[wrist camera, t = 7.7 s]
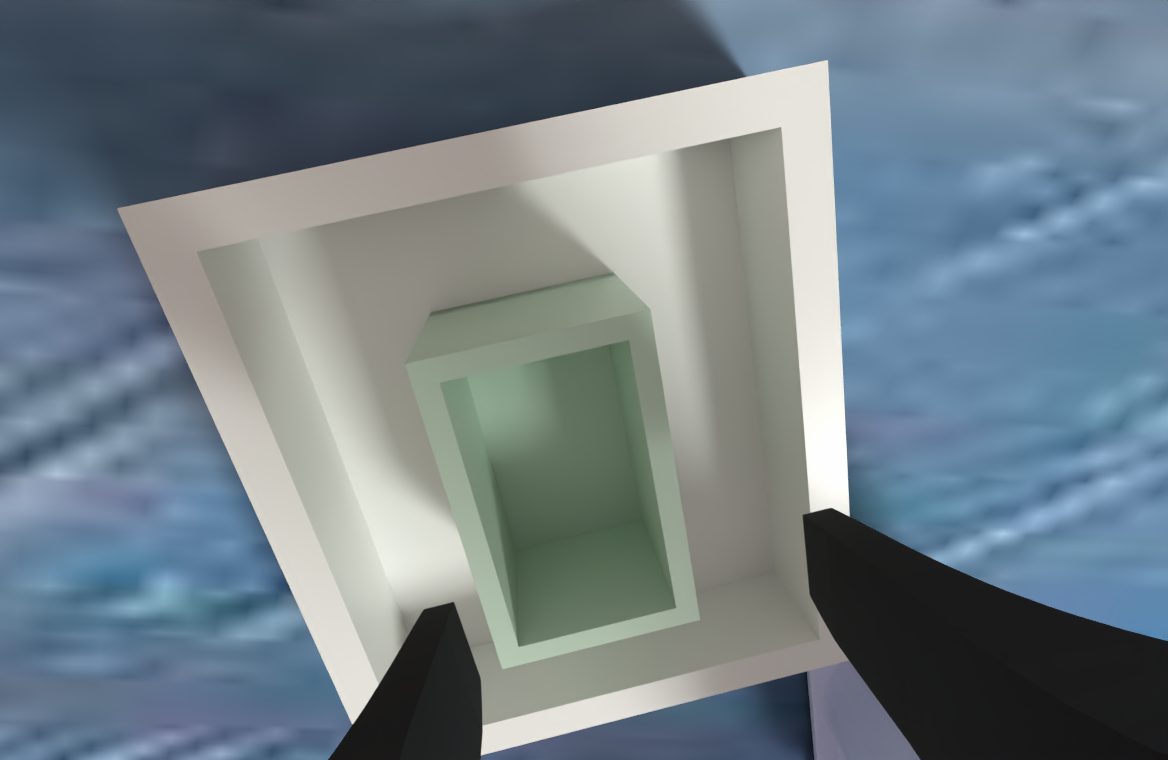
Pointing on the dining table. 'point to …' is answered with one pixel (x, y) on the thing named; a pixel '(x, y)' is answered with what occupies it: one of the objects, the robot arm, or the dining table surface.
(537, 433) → the green crate
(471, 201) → the white crate
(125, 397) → the dining table surface
